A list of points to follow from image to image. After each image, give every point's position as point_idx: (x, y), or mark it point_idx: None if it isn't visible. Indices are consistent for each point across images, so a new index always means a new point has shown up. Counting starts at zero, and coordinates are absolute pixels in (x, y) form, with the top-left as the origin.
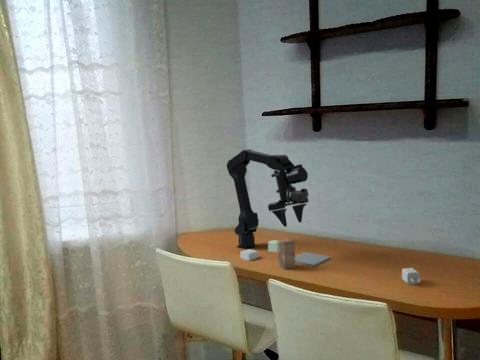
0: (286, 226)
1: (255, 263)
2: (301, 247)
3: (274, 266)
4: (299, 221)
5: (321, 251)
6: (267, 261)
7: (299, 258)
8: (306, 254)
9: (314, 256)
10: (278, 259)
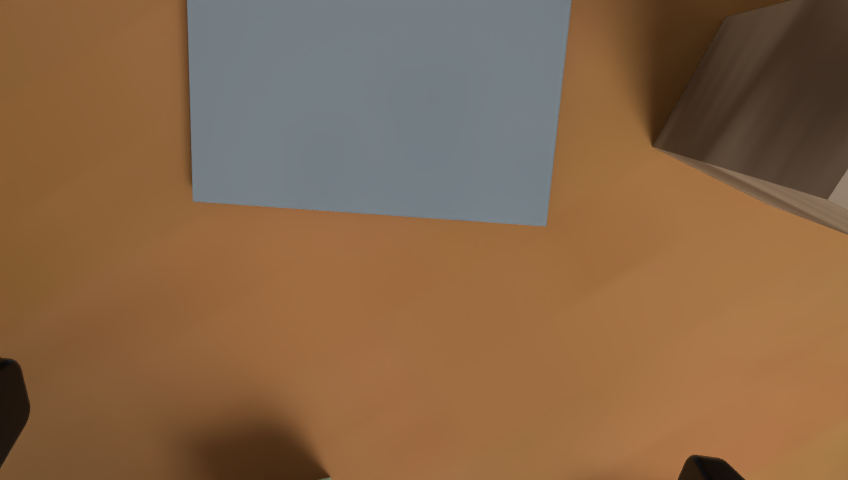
0: (696, 456)
1: (782, 461)
2: (34, 348)
3: (792, 242)
4: (6, 417)
5: (18, 68)
6: (667, 395)
7: (452, 123)
8: (269, 134)
9: (284, 3)
10: (815, 221)
